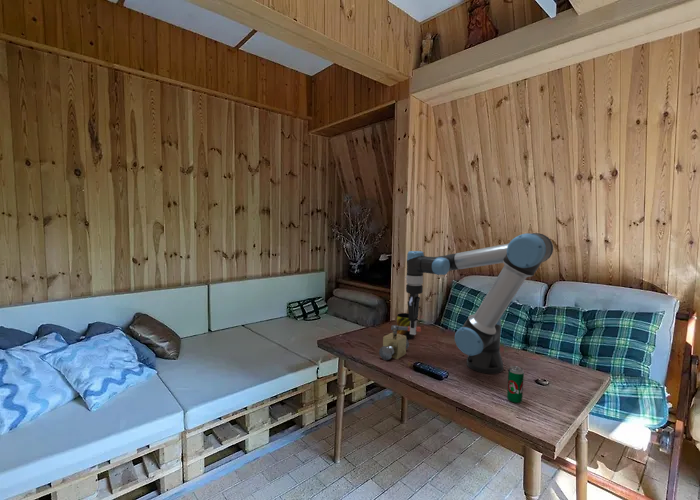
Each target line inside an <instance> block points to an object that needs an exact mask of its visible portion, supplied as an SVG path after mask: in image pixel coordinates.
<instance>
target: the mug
mask: <svg viewBox="0 0 700 500" xmlns="http://www.w3.org/2000/svg"><path fill="white" fill-rule="evenodd" d="M408 319H409V313H407V312H402V313H401V312H400V313H397V314H396V325H398V326H405V327H408V326H410V321H409V320H408ZM397 334H400V335H404V336H406V339H407V340H408V341H410V340H414V338H415V335H412V334H410V331H408V330H397Z"/></svg>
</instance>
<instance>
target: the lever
mask: <svg viewBox="0 0 700 500" xmlns="http://www.w3.org/2000/svg"><path fill="white" fill-rule="evenodd" d="M421 327H422V326H416V333H417V332H419V333H421V332H422V328H421ZM390 328H391V331H392V333H393V336H397V330H408V331H410V326H408V327H405V326H398V325H397V324H392V325H391V327H390Z"/></svg>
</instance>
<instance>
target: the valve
mask: <svg viewBox="0 0 700 500" xmlns="http://www.w3.org/2000/svg"><path fill="white" fill-rule="evenodd" d="M409 347H410V342H409V340H407V339H406V336H404V335H400V334H397V336H393V332H390V333H388V334H386V335H384V336H383V337H382V346H381V347H379V352H378V353H379V356H380V358H381V359H382V360H384V361H389V360H391V359H395V360H399V359H400V358H402V357H403V356H405V355H406V354H407V349H408V348H409Z"/></svg>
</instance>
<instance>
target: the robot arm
mask: <svg viewBox="0 0 700 500" xmlns="http://www.w3.org/2000/svg"><path fill="white" fill-rule="evenodd" d="M553 253H554V244H553V242H552V240H551V238H549V236H547V235H544V234H543V233H538V232H533V233H522V234H519V235H517V236H515V237H514V238H512V239H511V240H510V241H509V243H505V244H504V243H503V244H499V245H493V246H488V247H482V248H478V249H473V250H468V251H462V252H456V253H450V254H445V255H440V256H439V255H438V256H426V255H425V254H424V251H420V250H409V251H408V252H407V256H406V276H405V279H406V285H405V292H406V293H407V294H409V296H408V301H407V306H408V307H407V308H408V309H407V311H408V313H409V319H408V320H409V321H410V334H412V335H414V336H415V335H417V332H416V327H417V321H419V310H420V309H419V308H420V300H421V297H420V296H419V295H421V294H423V287H424V286H423V283H424V274H433V275H436V276H439V275H441V276H442V275H443V276H445V275H447V274H448V272H450V271H456V270H457V271H458V270H463V269H469V268H476V267H483V266H491V265H496V264H503V267H502V269H501V271H500V272H499V274H498V276H497V277H496V278H495V281H494V282H493V284H492V285H491V287H490V289H489V290H488V292H487V294H486V295H485V297H484V298H483V300H482V301H481V304H480V305H479V307H478V308H477V310H476V311H475V313H474V314H470V315H469V316H468V317H467V319H466V321H465V322H464V323H463V325H462V326H461V327H459V328H458V329H457V330H456V332H455V334H454V342H455V345H456V347H457V348H458V349H459V351H461V352H462V353H463V354H464V355H467V358H466V366H467V367H468V368H469V369H471V370H473V371H475V372H478V373H482V374H489V375H490V374H491V375H495V374H499V373H502V372H503V370H504V361H503V359H502V356H501V353H500V352H501V351H500V348H501V347H500V346H501V333H502V332H501V331H502V320H501V317H502V315H504V313H505V311H506V310H507V308H508V307H509V305H510V304H511V302H512V300H513V299H514V297H515V296H516V294H517V293H518V291H519V289H520V288H521V286H522V285H523V283H524V282H525V281H526V279H527V278H530V277H534V275H535V273H536V272H537V270H538V269H539V268H540V266H541V264H542V263H544V262H547V261H548V260H549V259H550V258H551V257H552V255H553Z"/></svg>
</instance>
